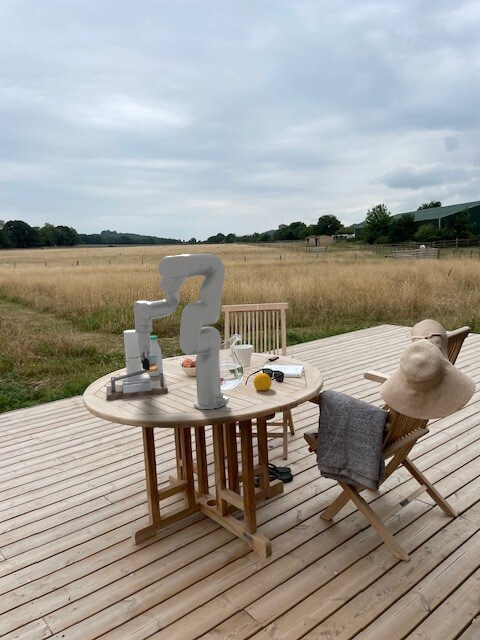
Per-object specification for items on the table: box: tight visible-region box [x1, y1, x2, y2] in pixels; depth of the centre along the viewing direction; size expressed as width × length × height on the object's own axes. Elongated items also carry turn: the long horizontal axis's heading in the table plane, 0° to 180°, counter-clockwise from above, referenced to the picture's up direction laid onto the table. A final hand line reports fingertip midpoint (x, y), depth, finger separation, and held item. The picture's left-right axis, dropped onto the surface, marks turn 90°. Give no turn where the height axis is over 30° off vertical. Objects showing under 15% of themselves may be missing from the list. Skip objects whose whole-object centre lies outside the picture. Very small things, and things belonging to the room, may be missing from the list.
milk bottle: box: [147, 335, 164, 377], centre depth 229 cm, size 8×8×20 cm
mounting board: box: [106, 380, 169, 401], centre depth 203 cm, size 26×14×2 cm, turn 106°
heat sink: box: [110, 370, 165, 393], centre depth 202 cm, size 23×14×6 cm, turn 106°
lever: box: [112, 365, 158, 382], centre depth 202 cm, size 20×4×1 cm, turn 106°
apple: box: [253, 372, 272, 391], centre depth 198 cm, size 8×8×8 cm
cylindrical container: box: [123, 329, 143, 376], centre depth 217 cm, size 7×7×25 cm
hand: (146, 368), depth 203 cm, fingers closed
